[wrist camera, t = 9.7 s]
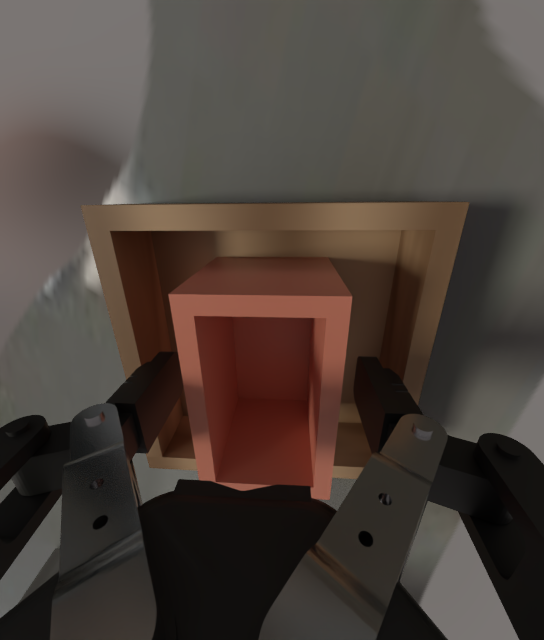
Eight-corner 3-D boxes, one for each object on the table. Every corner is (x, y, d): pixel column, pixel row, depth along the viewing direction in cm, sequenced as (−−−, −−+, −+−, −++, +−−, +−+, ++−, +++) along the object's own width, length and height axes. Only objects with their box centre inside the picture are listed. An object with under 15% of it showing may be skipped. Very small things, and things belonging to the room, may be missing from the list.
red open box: (217, 256, 14) (168, 294, 8) (327, 257, 14) (352, 296, 8) (229, 400, 17) (201, 492, 12) (317, 403, 17) (329, 499, 12)
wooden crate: (176, 417, 19) (149, 467, 16) (136, 203, 14) (80, 205, 10) (377, 425, 19) (398, 481, 15) (419, 201, 13) (469, 202, 9)
